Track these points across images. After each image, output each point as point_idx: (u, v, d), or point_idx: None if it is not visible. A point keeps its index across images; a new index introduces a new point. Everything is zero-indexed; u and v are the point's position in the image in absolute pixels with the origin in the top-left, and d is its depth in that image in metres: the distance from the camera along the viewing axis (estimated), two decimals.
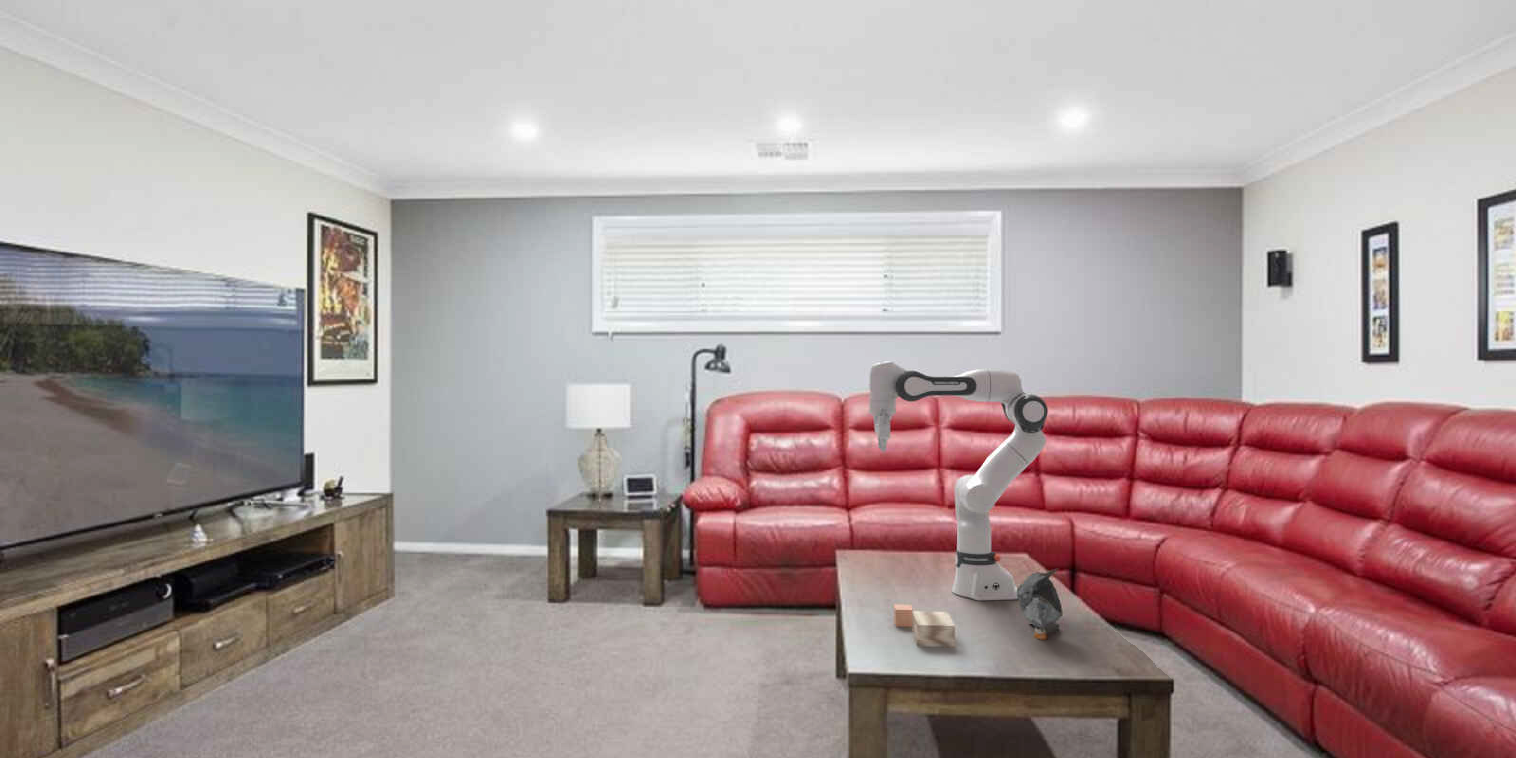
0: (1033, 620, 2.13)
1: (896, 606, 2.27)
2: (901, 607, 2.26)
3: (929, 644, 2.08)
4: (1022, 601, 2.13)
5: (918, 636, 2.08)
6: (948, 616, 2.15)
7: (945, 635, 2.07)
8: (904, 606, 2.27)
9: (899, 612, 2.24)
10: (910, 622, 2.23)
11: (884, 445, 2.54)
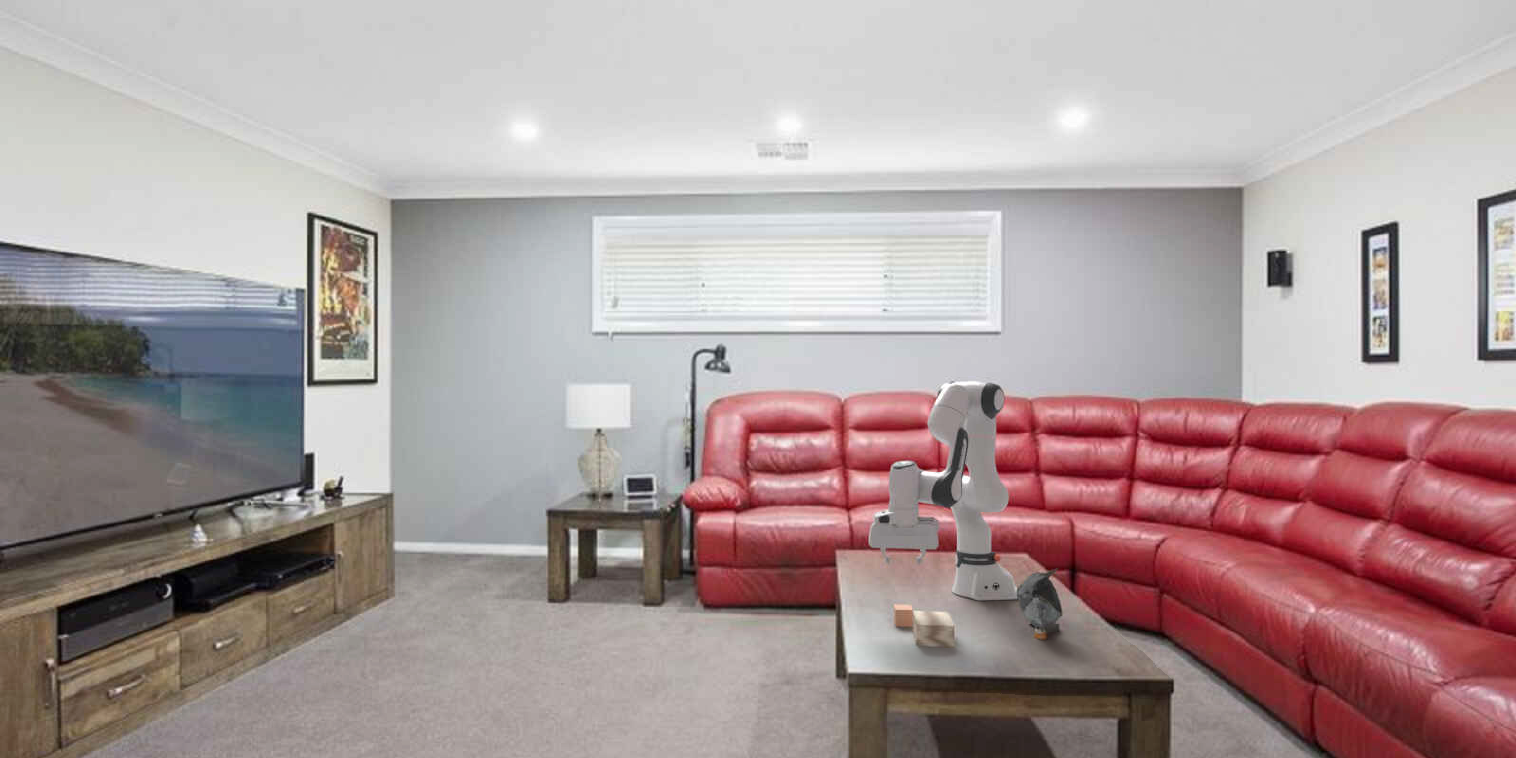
0: (1033, 620, 2.13)
1: (896, 606, 2.27)
2: (901, 607, 2.26)
3: (929, 644, 2.08)
4: (1022, 601, 2.13)
5: (918, 636, 2.08)
6: (948, 616, 2.15)
7: (945, 635, 2.07)
8: (904, 606, 2.27)
9: (899, 612, 2.23)
10: (910, 622, 2.23)
11: None
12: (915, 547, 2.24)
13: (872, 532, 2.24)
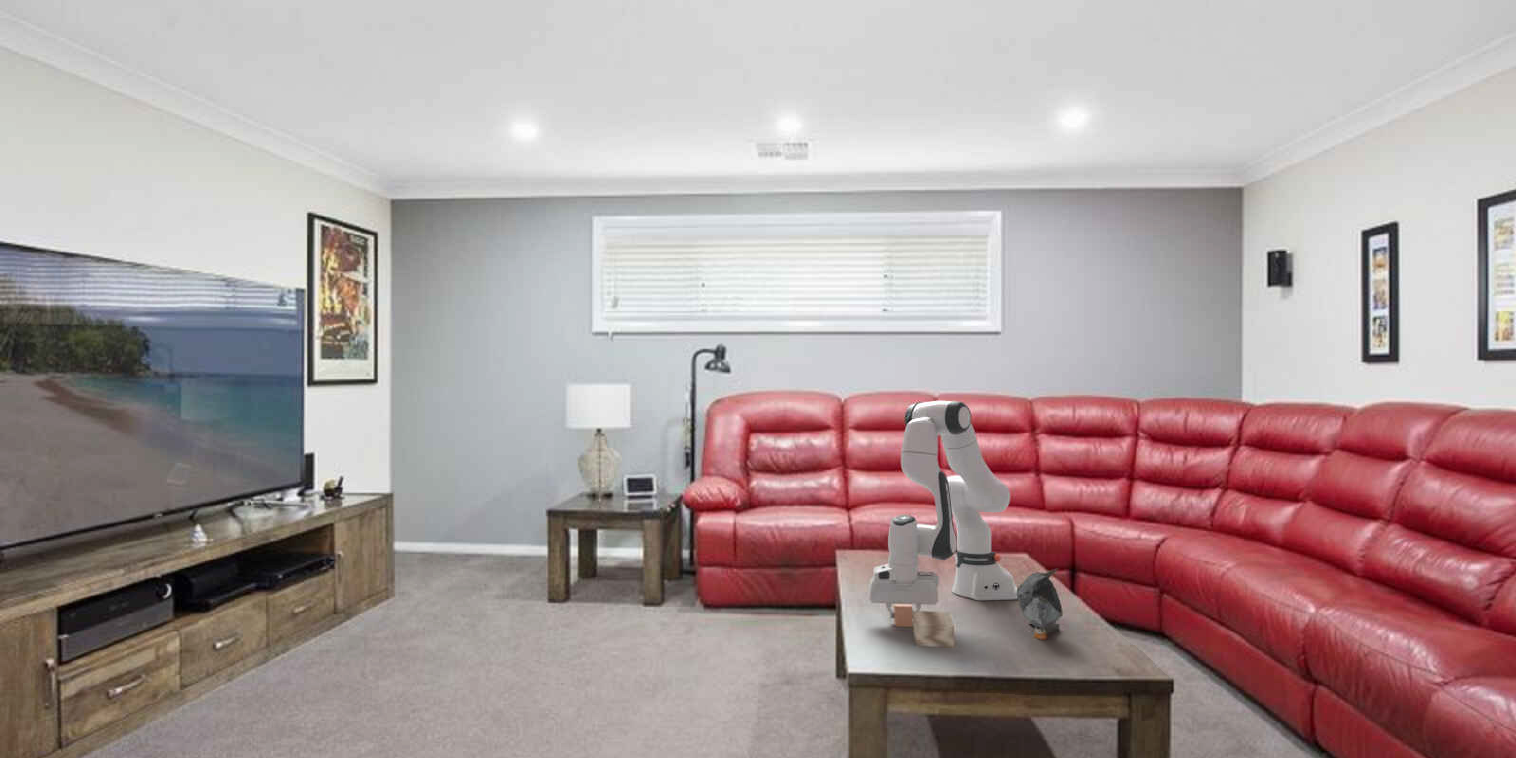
0: (1033, 620, 2.13)
1: (896, 606, 2.27)
2: (901, 606, 2.26)
3: (928, 644, 2.08)
4: (1022, 601, 2.13)
5: (917, 636, 2.08)
6: (948, 616, 2.15)
7: (945, 635, 2.07)
8: (904, 605, 2.27)
9: (899, 612, 2.23)
10: (910, 622, 2.23)
11: None
12: (915, 603, 2.24)
13: (872, 588, 2.24)
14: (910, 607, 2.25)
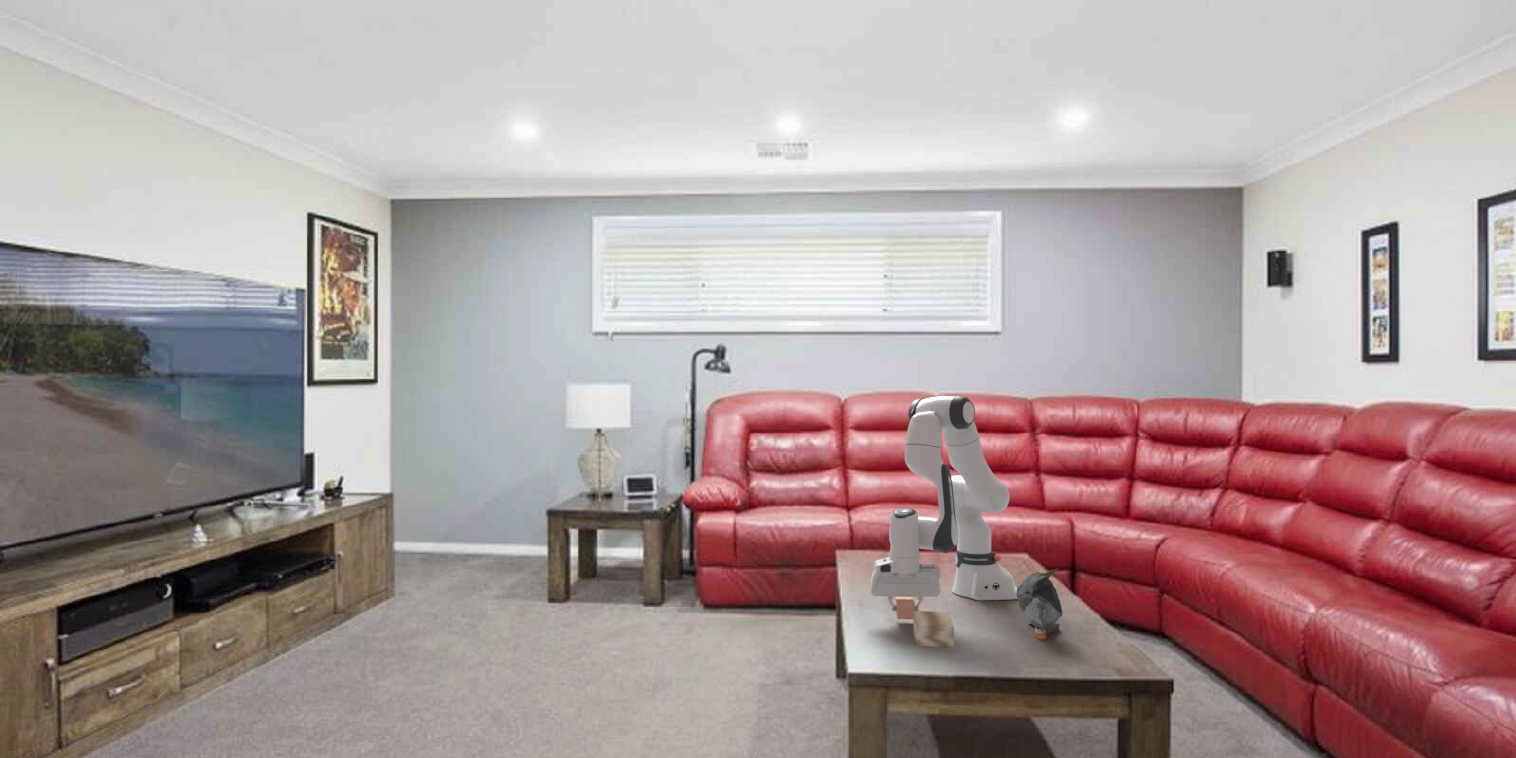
0: (1033, 620, 2.13)
1: (898, 598, 2.27)
2: (903, 599, 2.26)
3: (928, 644, 2.08)
4: (1022, 601, 2.13)
5: (917, 636, 2.08)
6: (948, 616, 2.15)
7: (944, 635, 2.07)
8: (906, 598, 2.27)
9: (901, 604, 2.24)
10: (912, 614, 2.23)
11: None
12: (917, 595, 2.24)
13: (874, 581, 2.24)
14: (912, 600, 2.25)
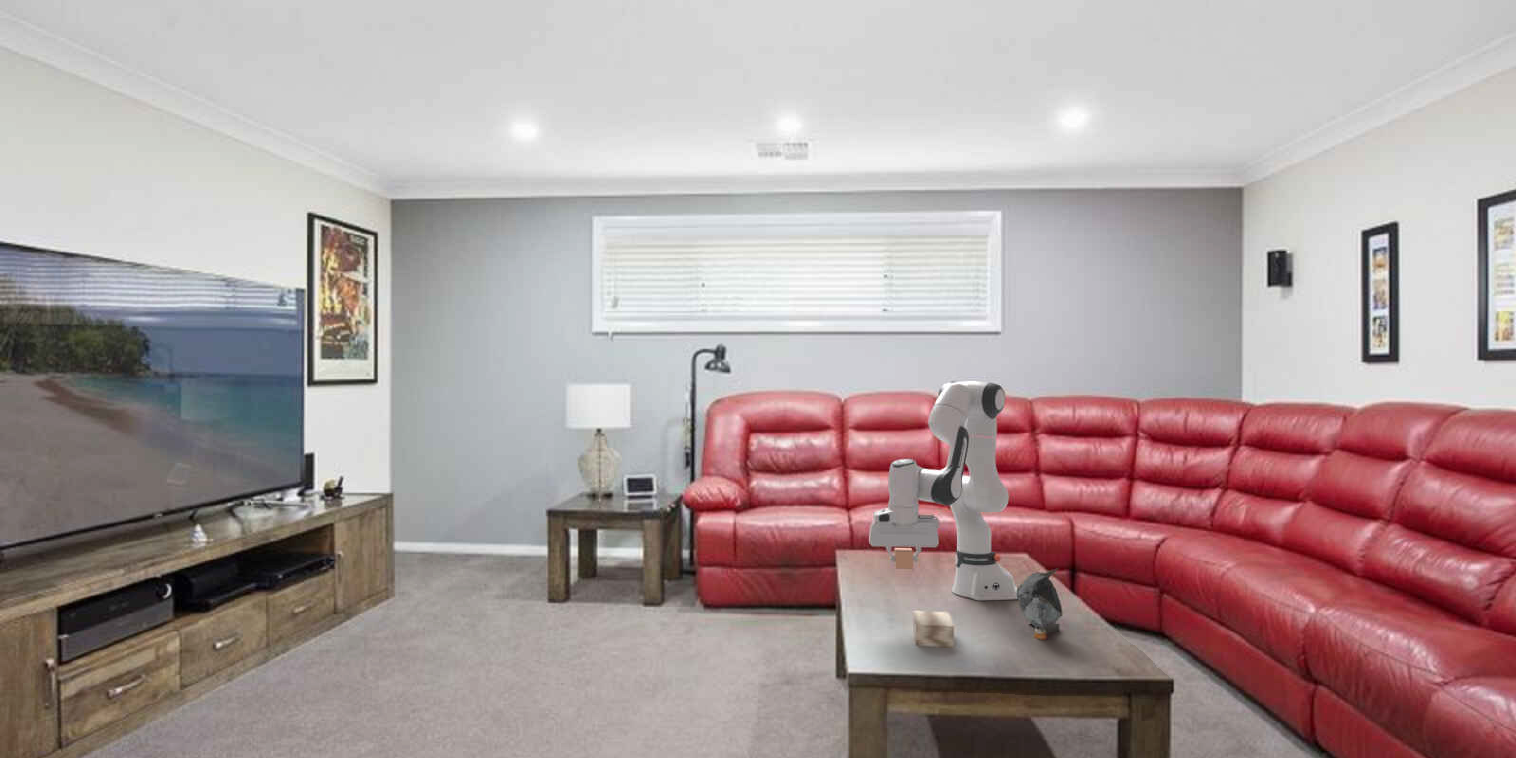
0: (1033, 620, 2.13)
1: (896, 549, 2.26)
2: (901, 550, 2.26)
3: (928, 644, 2.08)
4: (1022, 601, 2.13)
5: (917, 636, 2.08)
6: (949, 616, 2.15)
7: (944, 635, 2.07)
8: (905, 549, 2.27)
9: (899, 554, 2.23)
10: (910, 564, 2.23)
11: None
12: (915, 545, 2.24)
13: (872, 531, 2.24)
14: (910, 550, 2.25)
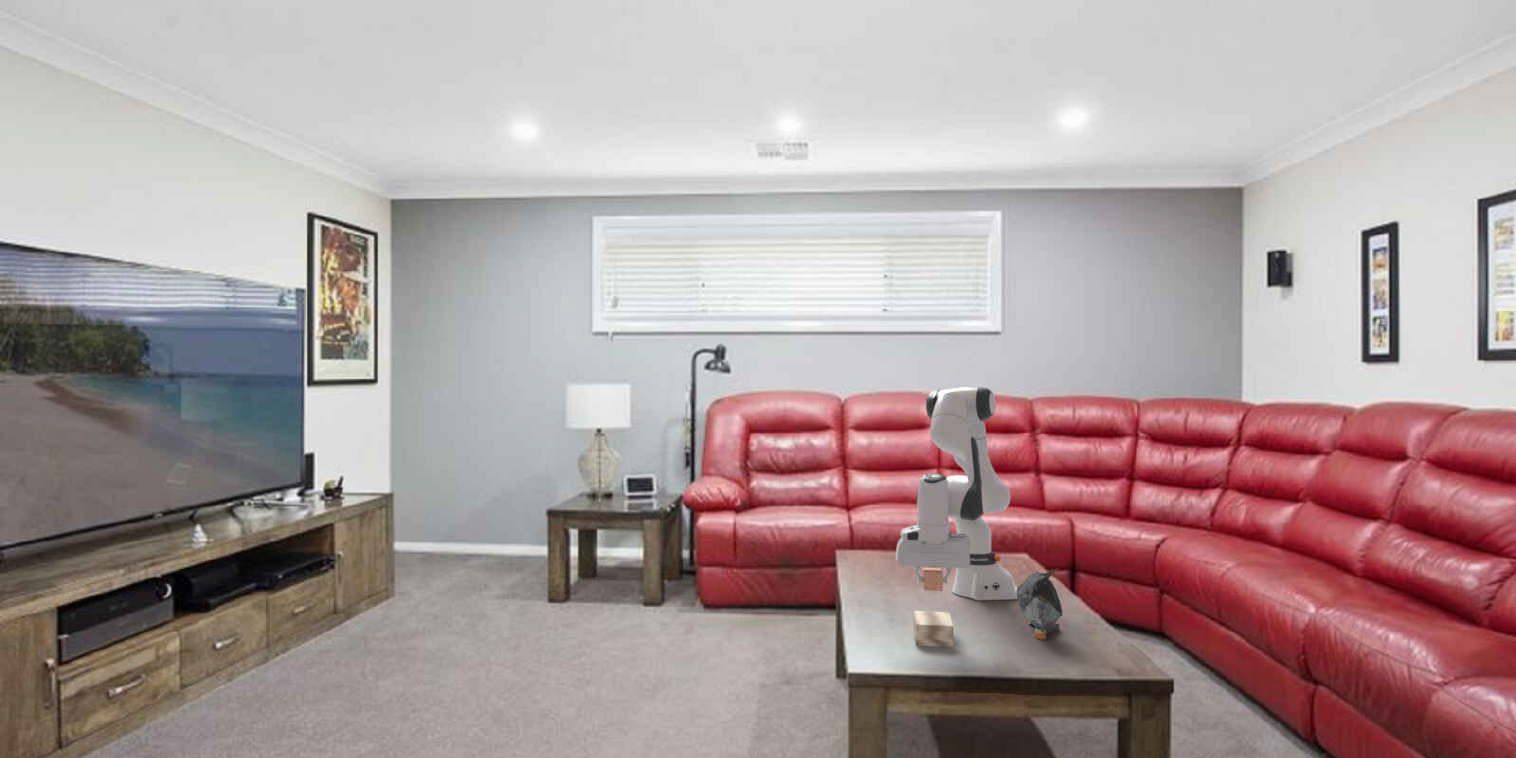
0: (1033, 620, 2.13)
1: (925, 569, 2.14)
2: (930, 570, 2.13)
3: (928, 644, 2.08)
4: (1022, 601, 2.13)
5: (916, 635, 2.08)
6: (949, 616, 2.14)
7: (944, 635, 2.07)
8: (934, 569, 2.14)
9: (928, 575, 2.11)
10: (940, 586, 2.10)
11: None
12: (945, 566, 2.11)
13: (900, 549, 2.12)
14: (940, 570, 2.12)
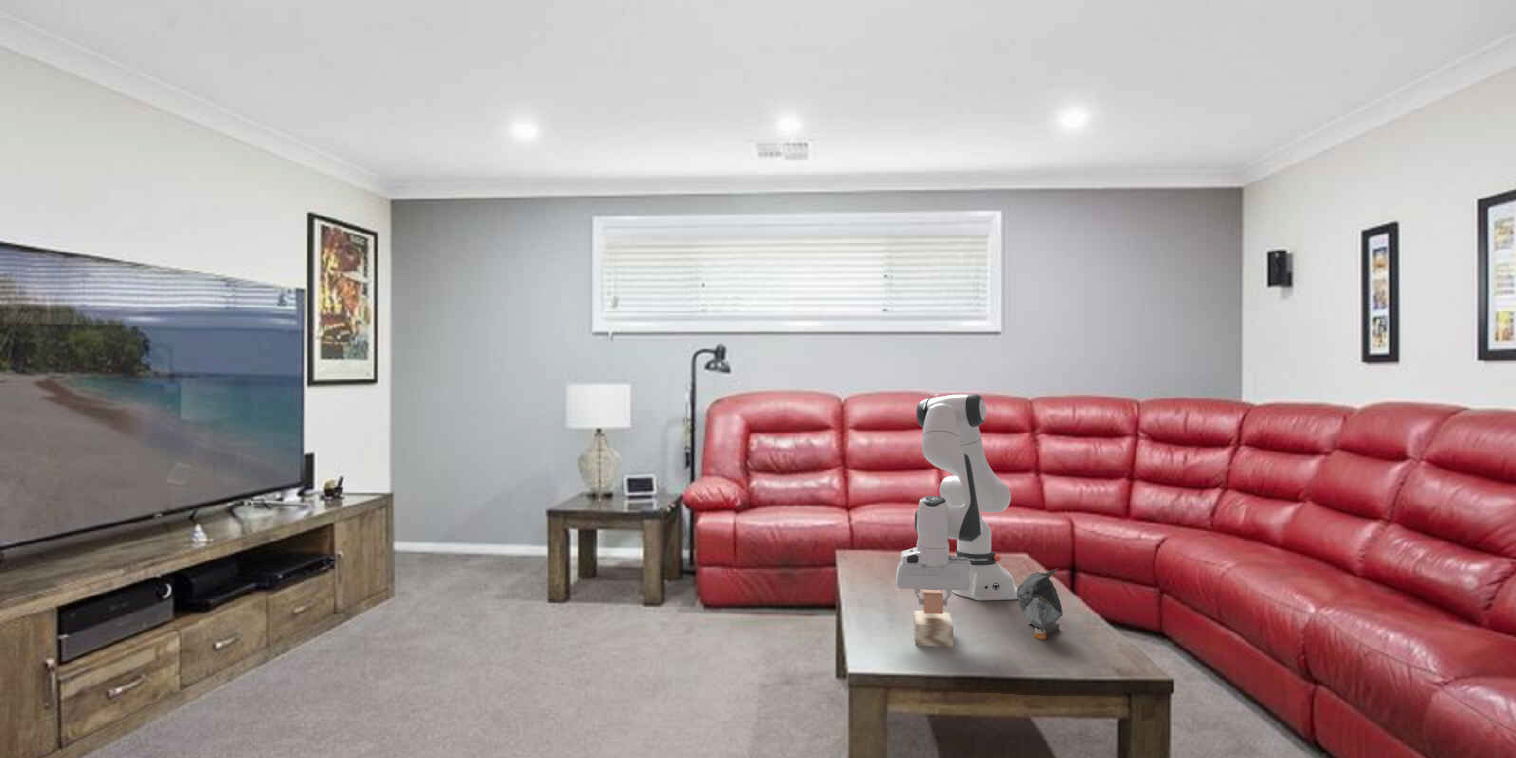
0: (1033, 620, 2.13)
1: (925, 592, 2.14)
2: (930, 592, 2.13)
3: (927, 644, 2.08)
4: (1022, 601, 2.13)
5: (916, 635, 2.08)
6: (949, 616, 2.14)
7: (944, 635, 2.07)
8: (934, 591, 2.14)
9: (928, 598, 2.11)
10: (940, 608, 2.11)
11: None
12: (945, 588, 2.11)
13: (900, 572, 2.12)
14: (940, 593, 2.13)
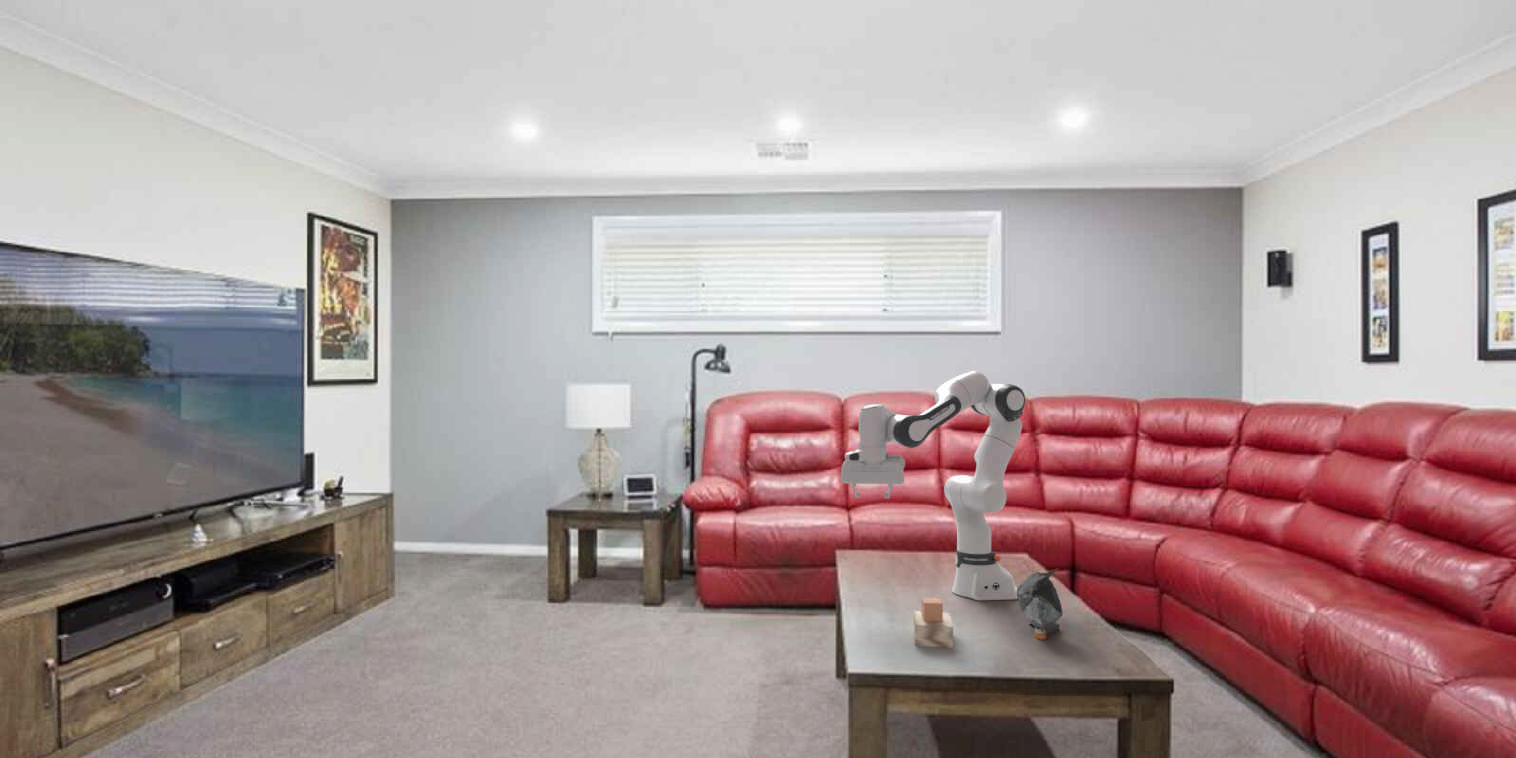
0: (1033, 620, 2.13)
1: (924, 599, 2.14)
2: (929, 600, 2.13)
3: (927, 644, 2.07)
4: (1022, 601, 2.13)
5: (916, 636, 2.08)
6: (949, 617, 2.14)
7: (943, 636, 2.07)
8: (933, 599, 2.14)
9: (928, 606, 2.11)
10: (940, 616, 2.10)
11: None
12: (883, 482, 2.43)
13: (843, 469, 2.44)
14: (939, 601, 2.13)
